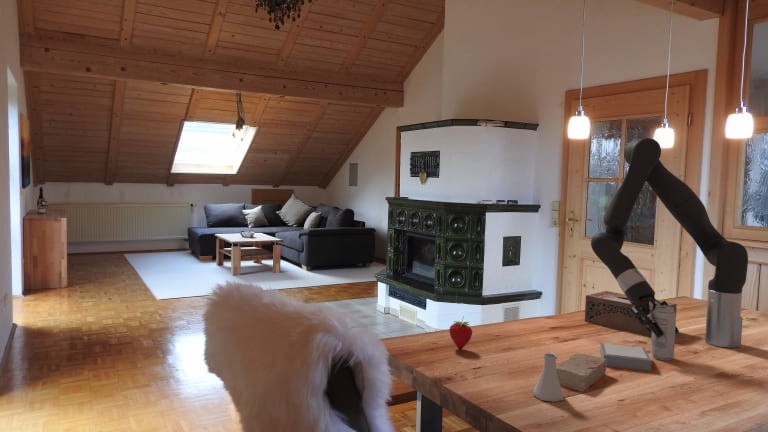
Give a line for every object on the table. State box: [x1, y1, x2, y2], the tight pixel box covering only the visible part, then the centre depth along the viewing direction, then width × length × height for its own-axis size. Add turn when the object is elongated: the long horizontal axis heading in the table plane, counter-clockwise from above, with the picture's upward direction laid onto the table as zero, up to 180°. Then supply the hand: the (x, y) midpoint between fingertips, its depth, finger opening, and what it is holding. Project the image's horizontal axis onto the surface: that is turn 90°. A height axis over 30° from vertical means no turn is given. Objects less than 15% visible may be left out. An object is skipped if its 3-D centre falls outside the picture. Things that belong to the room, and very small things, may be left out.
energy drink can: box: [650, 305, 677, 361], centre depth 157 cm, size 6×6×15 cm
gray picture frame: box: [599, 342, 652, 372], centre depth 153 cm, size 12×12×3 cm
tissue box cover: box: [584, 290, 678, 338], centre depth 192 cm, size 26×14×10 cm, turn 39°
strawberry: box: [448, 315, 473, 350], centre depth 161 cm, size 6×8×10 cm
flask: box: [533, 352, 565, 403], centre depth 126 cm, size 7×7×10 cm
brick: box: [556, 352, 607, 392], centre depth 139 cm, size 17×8×5 cm, turn 140°
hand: (668, 334), depth 155 cm, fingers closed on energy drink can, 6 cm apart
